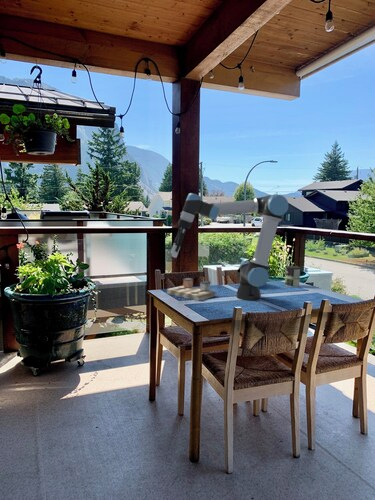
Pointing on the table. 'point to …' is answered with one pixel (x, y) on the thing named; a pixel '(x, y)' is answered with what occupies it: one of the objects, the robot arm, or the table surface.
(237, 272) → the dark grey cylinder
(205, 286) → the fader grey
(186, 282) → the fader terracotta
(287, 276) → the coffee can
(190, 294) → the tan muffin tray
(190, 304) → the table surface
